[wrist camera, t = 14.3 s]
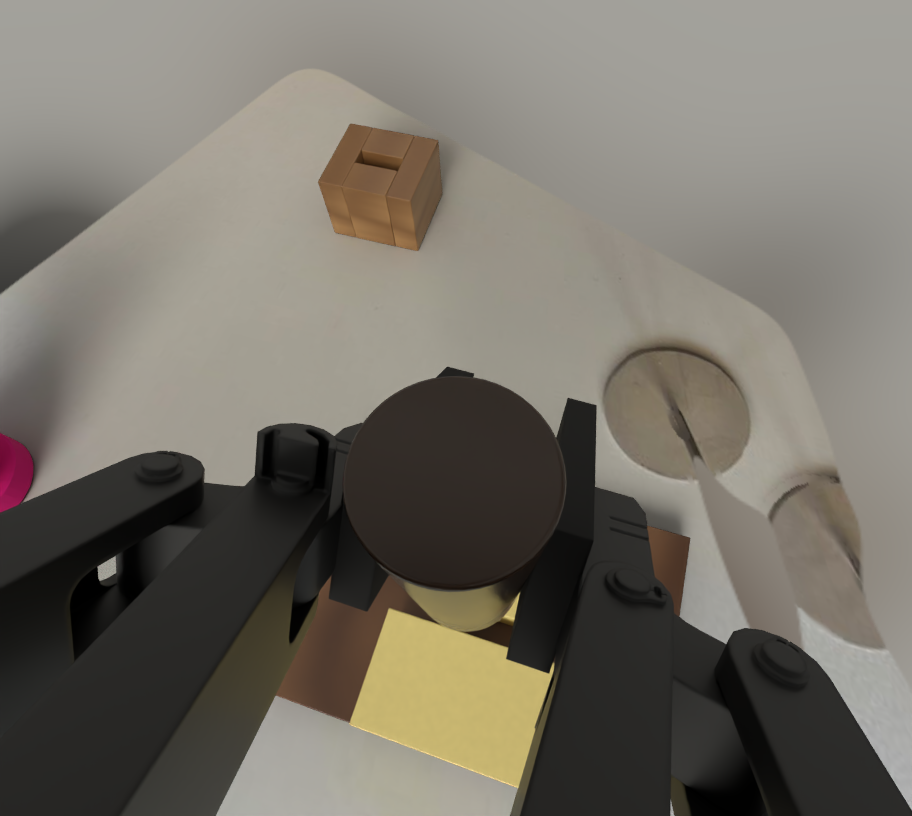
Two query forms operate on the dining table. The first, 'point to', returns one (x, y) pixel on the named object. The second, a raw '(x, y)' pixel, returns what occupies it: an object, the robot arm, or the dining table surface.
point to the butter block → (451, 697)
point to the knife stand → (383, 186)
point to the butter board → (356, 631)
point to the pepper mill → (14, 472)
